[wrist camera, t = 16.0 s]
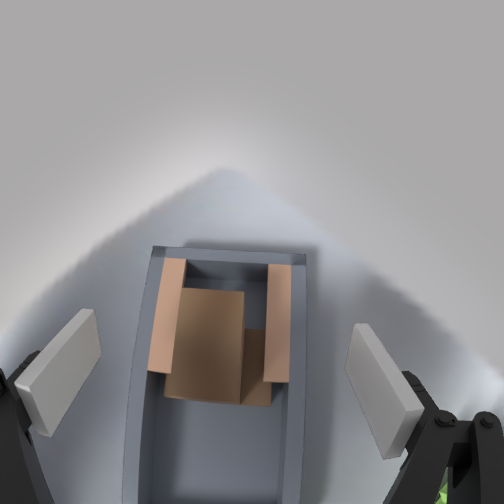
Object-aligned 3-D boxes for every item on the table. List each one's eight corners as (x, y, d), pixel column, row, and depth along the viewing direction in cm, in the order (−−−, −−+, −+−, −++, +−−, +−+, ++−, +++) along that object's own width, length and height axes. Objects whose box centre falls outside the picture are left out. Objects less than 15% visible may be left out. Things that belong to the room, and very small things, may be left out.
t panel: (169, 397, 24) (127, 388, 15) (176, 328, 27) (143, 284, 18) (268, 406, 24) (281, 404, 15) (272, 335, 26) (285, 294, 18)
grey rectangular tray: (139, 522, 19) (122, 537, 15) (164, 268, 30) (153, 245, 26) (287, 537, 18) (294, 556, 15) (298, 276, 30) (305, 254, 26)
